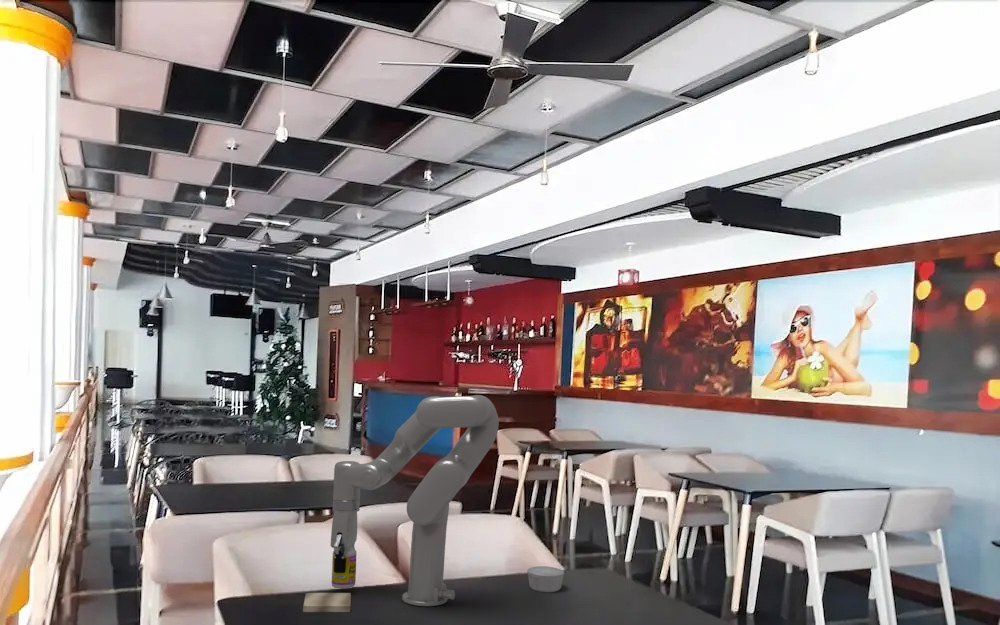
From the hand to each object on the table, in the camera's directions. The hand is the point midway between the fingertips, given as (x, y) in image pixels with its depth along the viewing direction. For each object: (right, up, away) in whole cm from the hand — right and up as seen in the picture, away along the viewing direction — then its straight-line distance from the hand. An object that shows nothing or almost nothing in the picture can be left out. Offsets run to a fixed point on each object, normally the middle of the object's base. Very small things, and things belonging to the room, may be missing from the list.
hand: (344, 568), depth 225 cm
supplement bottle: (0, -5, 0) cm, 5 cm away
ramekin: (+58, -11, +16) cm, 61 cm away
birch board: (-2, -6, -13) cm, 14 cm away
